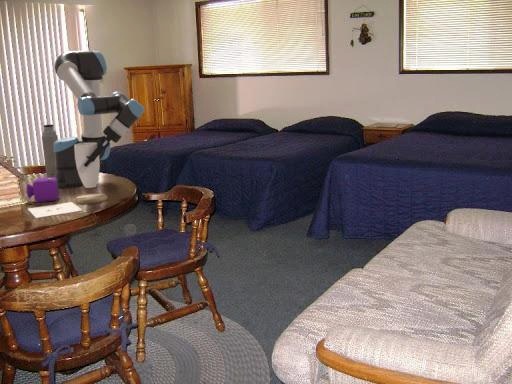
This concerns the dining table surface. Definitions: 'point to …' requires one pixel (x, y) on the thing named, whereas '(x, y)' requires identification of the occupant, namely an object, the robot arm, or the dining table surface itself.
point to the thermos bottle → (49, 149)
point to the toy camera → (43, 189)
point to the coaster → (91, 198)
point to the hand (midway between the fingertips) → (81, 169)
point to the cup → (92, 171)
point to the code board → (54, 210)
